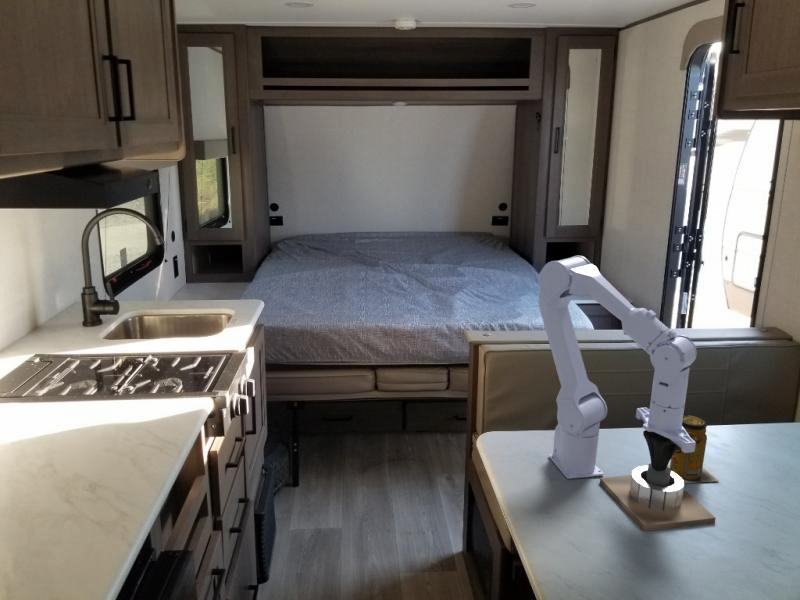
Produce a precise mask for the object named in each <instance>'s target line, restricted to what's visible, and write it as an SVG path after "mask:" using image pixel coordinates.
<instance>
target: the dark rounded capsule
mask: <svg viewBox="0 0 800 600" xmlns="http://www.w3.org/2000/svg"><path fill="white" fill-rule="evenodd" d="M647 466H648V470H647V476H646V482H647V483H649V484H651V485H654V486H659V487H668V485H669V480H670V474H671V469H670V468H669V467H668V466H667V468H666V470H661V471H656V470H655V469H653V468H652V465H651V462H650V463H649V464H648V465H647Z"/></svg>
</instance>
